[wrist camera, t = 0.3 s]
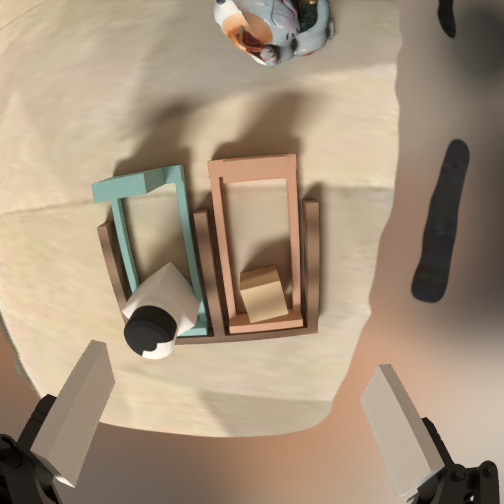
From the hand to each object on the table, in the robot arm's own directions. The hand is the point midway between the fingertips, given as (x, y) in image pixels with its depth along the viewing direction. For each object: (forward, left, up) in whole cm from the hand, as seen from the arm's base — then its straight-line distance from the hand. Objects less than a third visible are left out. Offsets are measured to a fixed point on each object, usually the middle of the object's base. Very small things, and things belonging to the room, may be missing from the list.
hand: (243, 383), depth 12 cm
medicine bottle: (+9, -12, -26) cm, 30 cm away
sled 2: (+3, +2, -26) cm, 26 cm away
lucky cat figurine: (-27, +7, -26) cm, 38 cm away
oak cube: (+9, +2, -26) cm, 28 cm away
